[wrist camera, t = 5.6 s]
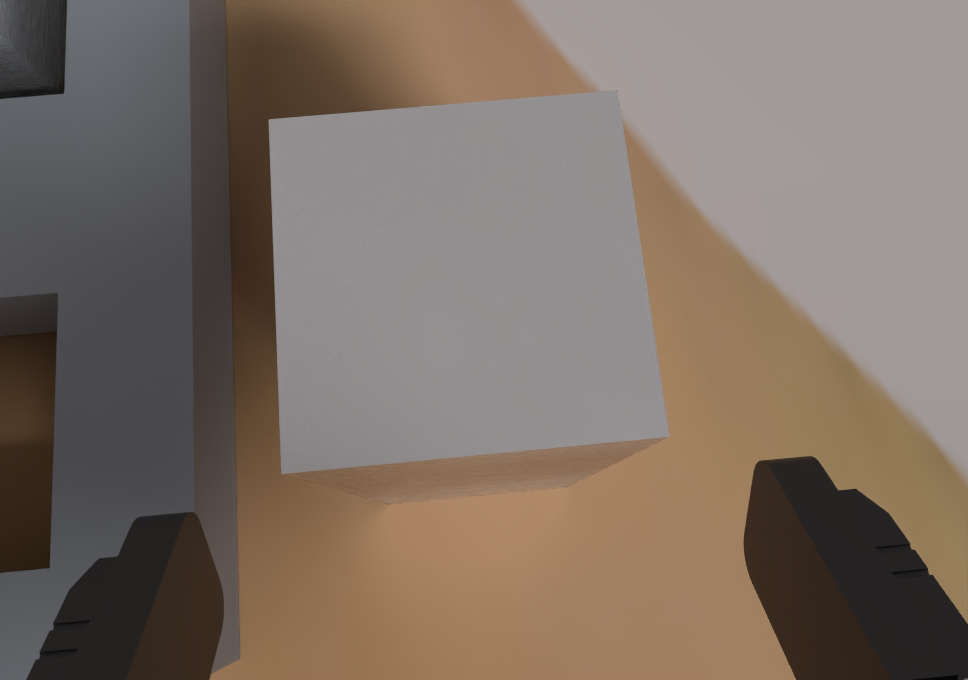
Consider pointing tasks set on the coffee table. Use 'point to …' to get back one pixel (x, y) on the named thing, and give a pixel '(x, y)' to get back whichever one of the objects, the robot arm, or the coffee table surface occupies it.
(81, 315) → the grey square hole board
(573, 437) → the block
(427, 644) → the coffee table surface
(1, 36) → the block
